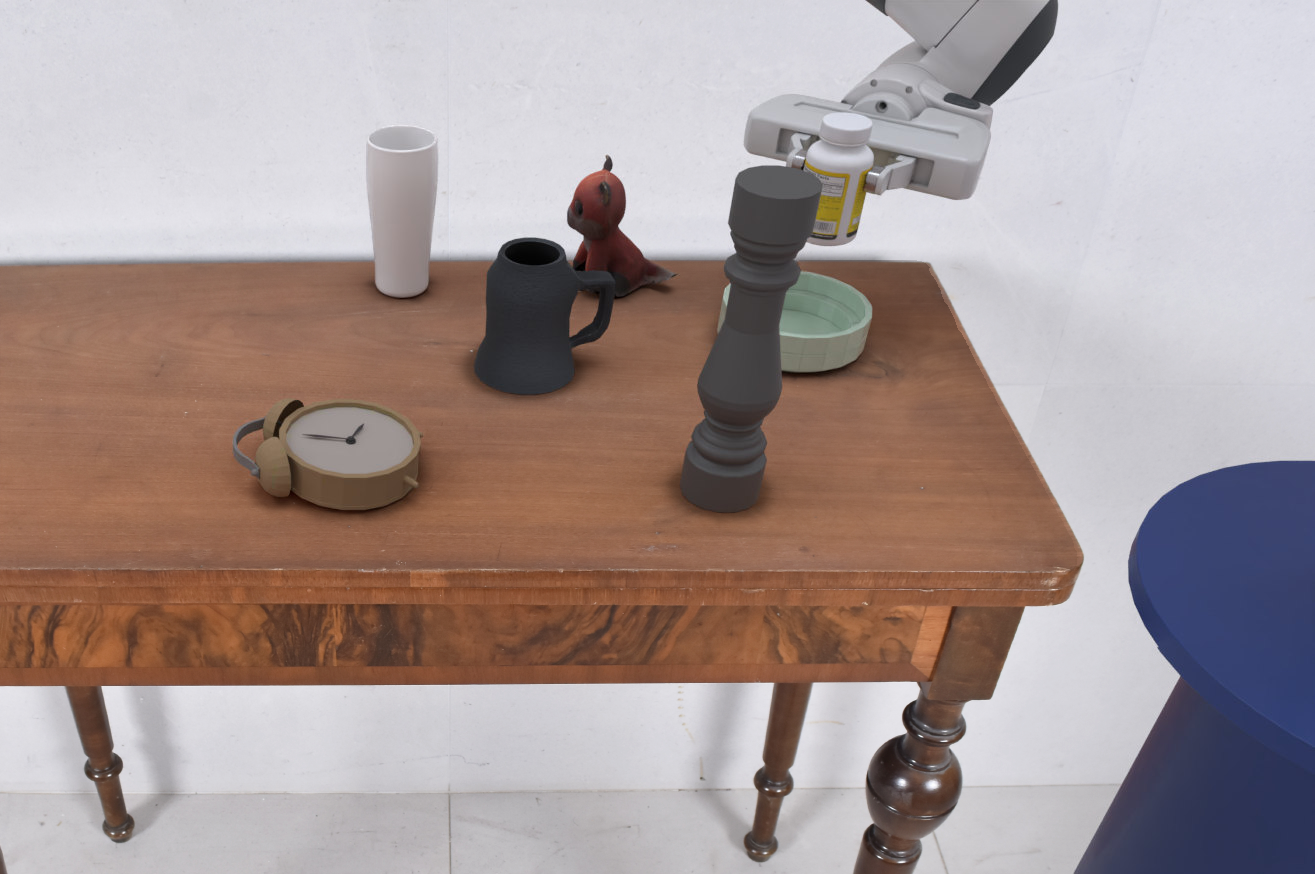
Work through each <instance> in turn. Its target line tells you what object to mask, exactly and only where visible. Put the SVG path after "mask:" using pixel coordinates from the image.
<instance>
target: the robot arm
mask: <svg viewBox="0 0 1315 874" xmlns="http://www.w3.org/2000/svg"><path fill="white" fill-rule="evenodd" d="M865 2H866V3H868V4H869V5H871V6H872V7H874V8H875V9H876V10H878V11H879V12H880V13H882V14H883V15H884V16H885V17H889V18H890V19H891V20H893V21H894V23H896V24H897V25H898V26H899V27H900V28H901V30H903V31H905V32H906V34H908V35H909V36H910V37H911V38H912V39H913V40H914V41H911V42H909V43H908V44H906V45H905V46H902V47H901V48H900V49H898V50H896V51H895V52H894V53H892V54H891V55H890V56H888V57H887V58H886V59H884V60H883V61H882V62H881V63H880V64H879V65H878V66H877V67H876V68H875V69H874V70H873V71H871V72H870V73H868V74H867V75H866V77H864V78H863V79H862V80H861V81H859V82H858V83H857V84H856V85H855V86H854V87H853V88H851V89H850V90H849V91H848V92H847V93H846V94H845V95H844V97H842V99H841V101H839V102H838V101H835V100H829V99H823V98H819V97H815V96H809V95H804V94H798V93H785V94H780V95H777V96H775V97H773V98H770V99H768V100H765V102H762V103H760V104H759V105H757V106H756V107H754V108H753V109H751V110H750V111H749V113H748V115H747V119H746V123H745V128H744V133H743V147H744V149H745V150H746V152H747V153H748V154H749V155H750V154H751V155H754V156H758V157H763V158H768V159H772V160H777V161H780V162H781V161H782V162H786V163H785V167H792V168H797V169H800V170H804V165H805V160H806V155H807V152H808V149H809V148H810V146H811V145H812V144H814V143H815V142H817V141H819V140H821V138H820V137H819V134H820V128H821V124H822V119H823V117H824V116H826V115H828V114H831V113H838V112H846V113H855V114H859V115H863V116H865V117H867V118H869V119H870V120H871V121H872V123H873V126H872V131H871V136H870V138H869V141H868V143H866V144H865V145H867V146H868V147H869V148H870V149H871V150H872V152H873V155H874V161H873V166H872V169H871V170H869V171H868V173H867V176H866V184H865V185H864V188H863V191H864V192H866V194H867V193H868V194H872V195H876V196H882V195H883V194H884V193H885V192H886V191H890V190H898V189H904V190H909V191H914V192H918V193H922V194H927V195H931V196H936V197H939V198H943V199H944V198H945V199H948V200H951V201H952V200H953V201H962V200H963V201H964V200H969V199H971V197H972V196H973V195H974V194H975V192H976V189H977V187H978V184H979V180H980V178H981V175H982V171H983V168H984V165H985V161H986V157H987V154H988V151H989V147H990V143H991V138H992V132H991V127H992V121H993V115H994V108H993V107H991V106H992V105H993V104H995V102H997V101H998V100H999V99H1001V97H1002V96H1003V95H1005V94H1006V93H1007V91H1009V90H1010V89H1011V88H1012V87H1013V86H1014V85H1015V84H1016V83H1017V82H1018V81H1019V79H1020V78H1021V77H1022V76H1023V74H1025V72H1026V71H1027V70H1028V68H1029V67H1031V66H1032V64H1033V63H1034V62H1035V61H1036V60H1037V59H1038V58H1039V56H1040V55H1041V54H1042V53H1043V51H1044V50H1045V49H1046V47H1047V46H1048V45H1049V43H1050V42H1051V40H1052V38H1053V37H1054V35H1055V30H1056V26H1057V21H1058V16H1059V15H1058V14H1059V0H865Z"/></svg>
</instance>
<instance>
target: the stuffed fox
mask: <svg viewBox="0 0 1315 874" xmlns="http://www.w3.org/2000/svg"><path fill="white" fill-rule="evenodd" d="M613 166H614V163H613V160H612V158H611V156H610V155H609V154H606V155H605V161H604V163H603V167H602V169H601V170H598V171H595V172H592V173H590V174H588V175H587V176H585V177H584V178H583V179H581V181H579V183H578V184H577V186H576V188H575V190H574V192H573V197H572V200H571V202H570V204H569V206H568V207H567V211H566V222H567V225H568V227H569V228H571V229H572V230H574V231H576V232H577V233H579V234H580V235H582V236H583V239H582V241H581V243H580V244H579V246H578V249H577V251H576V254H575V256H574V257H573V260H572V267H573V269H574V270H575V271H593V270H594V271H606V272H609V273H610V274H611V276H612V277H613V279H614V280H615V294H614V297H624V296H626V295H629V294H631V292H633V291H635V290H637V289H639V288H641V287H644V286H646V285H648V284H652V283H653V284H659V283H662V282H668V281H669V280H670V279H673V278H674V277H676V276H677V275H679V273H675V272H673V271H671V270H669V269H667V268H665V267H663V266H661V265H659V264H657V263H655V262H653V261H651V260H649V259H647V258H646V257H645V256H644V254H643V252H642V251H641V249H640V248H639V247H638V246H637V245H636V244H635V243H634V242H633V240H631V239H630V238H629V237H628V235H626V234H625V233H624V232H623V231H622V230H621V229H620V227H619V226H620V224H621V222H622V220H623V219H624V216H625V213H626V208H627V196H626V195H627V194H626V189H625V186H624V183H623V182H622V180H620V178H619V177H618V176H617V175H616V174H614V173H612V172H611V171H612V170H613ZM587 291H588V292H589V293H595V294H596V295H600V287H599V288H595V289H587Z"/></svg>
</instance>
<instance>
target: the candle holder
mask: <svg viewBox="0 0 1315 874" xmlns="http://www.w3.org/2000/svg"><path fill="white" fill-rule="evenodd" d="M822 188H823V184H822V183H821V181H820V179H819V178H817V177H816V176H814V175H812V174H811V173H809V172H806V171H803V170H800V169H797V168H792V167H786V165H780V164H779V165H778V164H777V165H775V164H773V165H771V164H770V165H767V164H765V165H763V164H762V165H758V166H757V165H756V166H750V167H747V168H745V169H742V170H741V171H739V172H738V173H737V175H736V177H735V180H734V185H733V190H732V195H731V203H730V207H729V214H728V220H727V224H728V227H729V230H730V233H729V235H730V237H731V240H732V242H733V248H734V249H735V252H734V253H733V254H731V255H729V256H728V257H727V258H726V260H725V261H724V264H723V272H724V274H725V278H726V279H727V280H728V281H729V284H731V286H730V292H729V297H728V303H727V309H726V314H725V320H724V322H723V324H722V326H721V329H720V331H719V333H718V332H717V336H716V337H715V340H714V343H713V344H712V346H711V349H710V351H709V354H708V356H707V357H706V360H705V362H704V364H703V367H702V369H701V371H700V374H699V376H698V379H697V384H696V388H697V389H696V390H697V394H698V397H699V401H700V404H701V406H702V408H703V409H704V410H703V415H704V418H703V419H702V420H701V421H700V422H699V423H697V424H696V425H695V427H694V429H693V431H692V433H691V436H690V438H691V440H690V441H689V443H688V445H687V446H686V449H685V452H684V456H683V457H684V458H683V464H682V470H681V474H680V475H681V476H680V481H679V487H680V491H681V494H682V496H683V497H685V499H686V500H687V501H688V502H689V503H691V504H693V505H695V506H697V507H698V508H701V509H703V510H707V511H711V512H715V513H737V512H742V511H745V510H748V509H749V508H751V507H753V506H754V505H755V504H756V503H757V502H758V499H759V497H760V493H761V489H762V484H763V481H764V476H765V471H766V466H767V461H768V458H767V456H766V453H765V451H766V448H767V446H768V440H767V437H766V434H765V432H764V431H763V430H762V427H761V426H762V425H763V422H764V420H765V418H766V417H768V416H769V415H770V414H771V413H772V412H773V410H774V409H775V408H776V406H777V404H778V402H779V401H780V398H781V395H782V392H783V374H782V372H783V371H781V351H780V328H779V324H780V319H781V315H782V310H783V305H784V300H785V295H786V291H788V290H789V288H790V287H792V286H793V285H795V284H796V283H797V281H798V278H799V276H800V273H801V271H802V270H801V268H800V265H799V264H798V262H797V261H796V258H797V256H798V254H799V252H800V251H801V250H803V249H804V248H805V246H806V243H807V242H806V241H807V238H809V237H811V234H812V232H813V229H814V225H815V220H816V215H817V211H818V206H819V202H820V197H821V192H822Z"/></svg>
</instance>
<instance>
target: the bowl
mask: <svg viewBox="0 0 1315 874" xmlns="http://www.w3.org/2000/svg"><path fill="white" fill-rule="evenodd" d="M730 286H731V284H730V283H729V284H728V285H726V287H725V288H724V290H723V294H722V301H721V305H720V312H719V317H718V322H717V330H716V332H717V334H718V333H719V331H720V329H721V326H722V324H723V322H724V320H725V314H726V309H727V303H728V297H729V292H730ZM872 318H873V306H872V304H871V302H870V301H869V300H868V297H866V295H865V294H863V293H862V292H861V291H859V290H858V289H856V288H855V287H854V286H852V285H850V284H848V283H846V282H844V281H841V280H839V279H837V278H835V277H832V276H828V275H824V274H820V273H817V272H811V271H805V270H804V271H803V270H801V273H800V276H799V278H798V281H797V283H796V284H795V285H793V286H792V287H790V288H789V290H788V291H786V295H785V300H784V305H783V310H782V315H781V319H780V324H779V328H780V351H781V371H782V372H788V373H789V372H790V373H817V372H825V371H829V370H835V369H839V368H842V367H845V366H846V365H849V364H850V363H852V362H855V361H856V360H857V359H858V358H859V356H860V355H861V354H862V352H864V350H865V345H866V342H867V338H868V333H869V330H870V326H871V323H872V320H873V319H872Z"/></svg>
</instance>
